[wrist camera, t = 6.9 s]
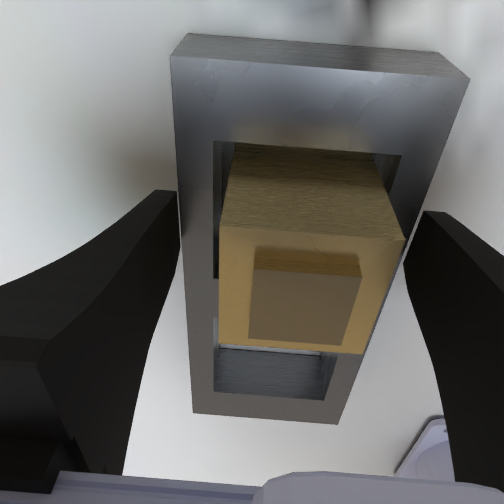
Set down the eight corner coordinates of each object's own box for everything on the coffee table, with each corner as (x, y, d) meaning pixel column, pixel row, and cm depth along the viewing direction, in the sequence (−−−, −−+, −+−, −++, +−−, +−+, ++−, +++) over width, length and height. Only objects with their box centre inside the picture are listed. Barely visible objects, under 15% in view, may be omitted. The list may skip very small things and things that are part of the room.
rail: (439, 52, 11) (470, 79, 9) (332, 381, 21) (337, 424, 20) (187, 33, 11) (169, 55, 9) (200, 370, 21) (192, 413, 20)
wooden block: (363, 135, 13) (410, 252, 8) (339, 235, 16) (364, 366, 11) (238, 125, 13) (217, 237, 8) (234, 227, 16) (216, 355, 11)
